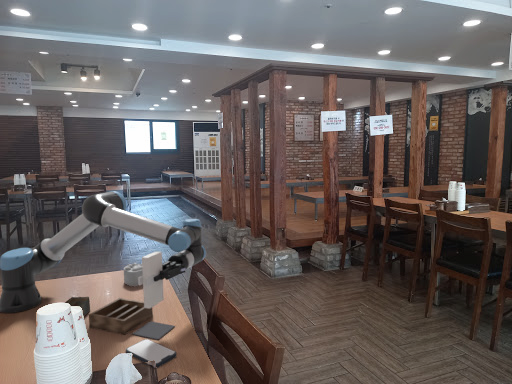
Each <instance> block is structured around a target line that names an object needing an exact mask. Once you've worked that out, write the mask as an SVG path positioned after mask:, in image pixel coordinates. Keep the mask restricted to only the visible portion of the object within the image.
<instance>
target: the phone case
mask: <svg viewBox="0 0 512 384" xmlns="http://www.w3.org/2000/svg"><path fill="white" fill-rule="evenodd" d="M125 353H126V354H127V353H132V354H133V357H132V358H134V359H136V360H139V361H140V362H142V363H144V362H148V361H153V360H154V361H155V363H156V367H157V368H156V369H158V368H160V367H162V366H163V365H165V364H166V363H168V362H170V361H171V360H173V359H175V358H176V357H177V351H175V350H173V349H171V348H168V347H167V346H164V345H163V344H159V343H157V342H155V341H153V340H152V339H150V338H146V339H142V340H140V341H138V342H136V343H134V344H132V345H131V346H129V347H127V348H125Z"/></svg>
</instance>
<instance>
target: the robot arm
mask: <svg viewBox="0 0 512 384" xmlns="http://www.w3.org/2000/svg"><path fill="white" fill-rule="evenodd" d="M126 210H127V200H126V198H125V196H124V195H123V194H122V193H121V192H118V191H114V190H110V191H106V192H101V193H96V194H91V195H90V196H88V197H86V198H85V199H84V201H83V202H82V205H81V211H82V212H81V214H80V215H78V217H76V218H74V220H72V221H71V222H70V223H69V224H67V225H65V227H64V228H62V229H61V230H60V231H59V232H57V233H56V234H55V235H53V236H52V237H51V238H44V239H43V240H42V241H40V242H39V243H38V244H37V245H36V246H34V247H32V248H30V247H19V248H15V249H12V250H8V251H6V252H4V253H3V254H2V255H0V280H1V281H0V282H1V293H0V313H4V314H6V313H7V314H12V313H20V312H24V311H27V310H31V309H33V308H36V307H38V306H39V305H40V304H42V296H41V294H40V291H39V289H38V288H37V287H38V286H36V275H38V274H41V273H43V272H45V271H47V270H51V269H53V268H56V266H58V264H59V263H61V262H62V260H63V258H65V253H66V252H67V251H69V249H71V248H72V247H73V246H75V245H76V244H77V243H78V242H81V240H83V239H84V238H86V237H87V236H88V235H89V234H90V233H92V232H93V231H94V230H96V229H97V228H98V227H102V228H107V227H111V228H115V229H118V230H120V231H124V232H127V233H129V234H132V235H135V236H138V237H142V238H144V239H147V240H151V241H154V242H156V243H158V244H159V243H160V244H163V245H167V246H168V247H169V249H170V250H172V252H175V254H173V255H172V256H170V257H169V258H168V260H167V261H166V262H165V261H164V262H162V271H160V274H159V273H158V272H157V273H155V274H153V275H151V276H149V277H147V278H146V286H149V285H151V284H153V283H155V282H157V281H158V280H163V281H164V280H166V281H168V280H170V279H173V278H175V277H176V276H179V275H182V274H185V273H186V271H187V270H188V269H190V268H191V267H193V266H195V265H197V264H199V263H200V262H202V261H203V260H205V258H206V257H207V250H206V248H205V247H204V245H202V221H201V220H200V218H199V219H198V218H186V219H184V220H183V221H182V228H179V227H175V226H173V225H170V224H166V223H164V222H162V221H161V222H160V221H157V220H154V219H152V218H151V219H150V218H148V217H145V216H142V215H138V214H136V213H133V212H130V211H128V210H127V211H126ZM138 285H139V286H143V275H142V276H140V277H138Z"/></svg>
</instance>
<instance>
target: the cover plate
mask: <svg viewBox="0 0 512 384" xmlns="http://www.w3.org/2000/svg"><path fill="white" fill-rule="evenodd" d="M162 255H163V252H162V251H158V250H157V251H156V250H155V251H153V252H151V253H149V254H147V255H144V256H142V257H141V263H142V271H143V284H142V288H143V302H144V308H149V309H150V308H152V309H153V307H155V306H156V305H158V304H159V303H161V302H163V301H164V299H165V298H164V279H163V280H158V281H157V282H155V283H153V284H151V285H149V286H146V278H147V277H149V276H151V275H153V274H155V273H157V272H158V273H159V274H160V271H162V264H163V256H162Z"/></svg>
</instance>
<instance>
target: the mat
mask: <svg viewBox="0 0 512 384" xmlns="http://www.w3.org/2000/svg"><path fill="white" fill-rule="evenodd" d="M175 326H176V325H173V324H167V323H161V322H157V321H152V320H150V321H148V322H147V323H145V324H144V325H142V326H141V327H139V328H138V329H136V330H135V331H134V332H132V333H131V334H132V336H138V337H142V338H146V339H150V340H157V341H159V340H160V339H162V338H163V337H164V336H165V335H167V334H169V332H170V331H171V330H173V329H174V328H175Z"/></svg>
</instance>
